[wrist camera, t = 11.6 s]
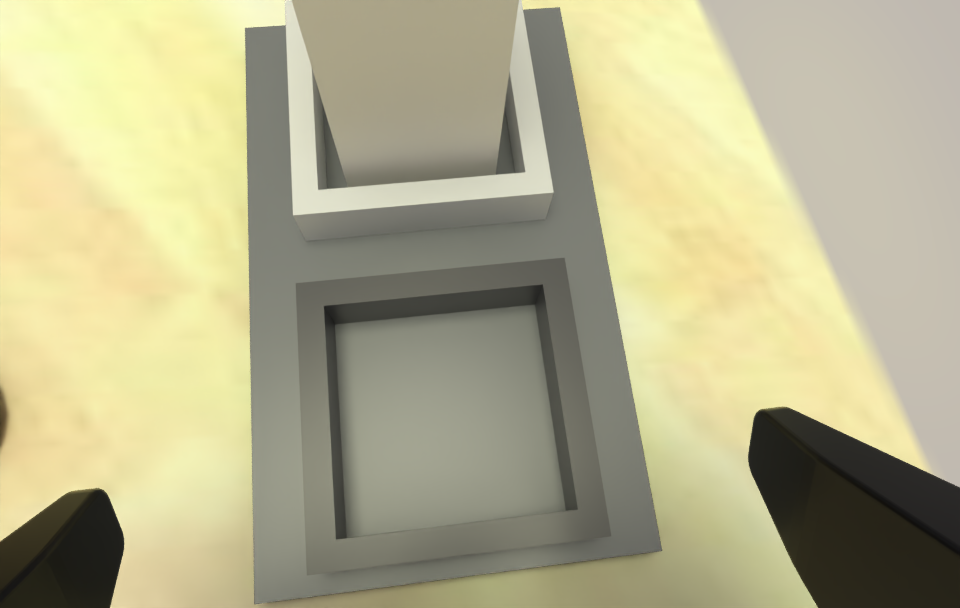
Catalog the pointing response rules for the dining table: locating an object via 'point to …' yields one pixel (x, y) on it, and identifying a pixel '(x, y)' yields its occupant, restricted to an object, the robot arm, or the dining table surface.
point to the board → (432, 347)
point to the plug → (411, 84)
